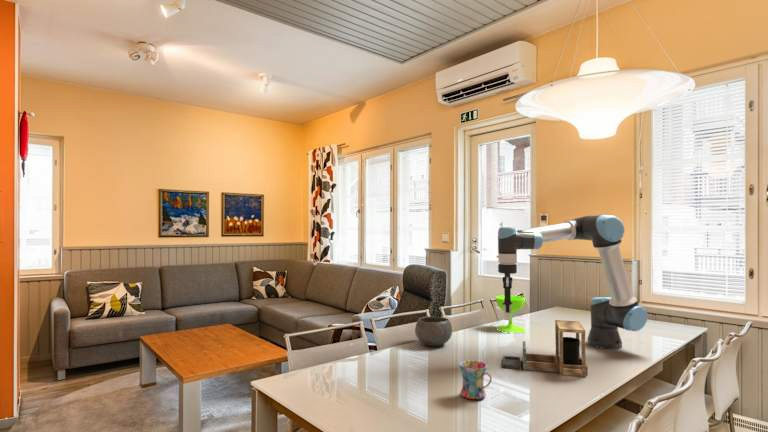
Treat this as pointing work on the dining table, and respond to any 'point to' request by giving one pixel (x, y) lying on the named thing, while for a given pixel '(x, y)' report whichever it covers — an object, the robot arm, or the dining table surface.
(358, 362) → the dining table surface
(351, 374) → the dining table surface
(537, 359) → the sled
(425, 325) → the bowl
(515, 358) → the tray
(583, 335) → the brown wooden frame
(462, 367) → the mug
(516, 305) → the wineglass
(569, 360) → the cup
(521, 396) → the dining table surface
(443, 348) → the dining table surface
